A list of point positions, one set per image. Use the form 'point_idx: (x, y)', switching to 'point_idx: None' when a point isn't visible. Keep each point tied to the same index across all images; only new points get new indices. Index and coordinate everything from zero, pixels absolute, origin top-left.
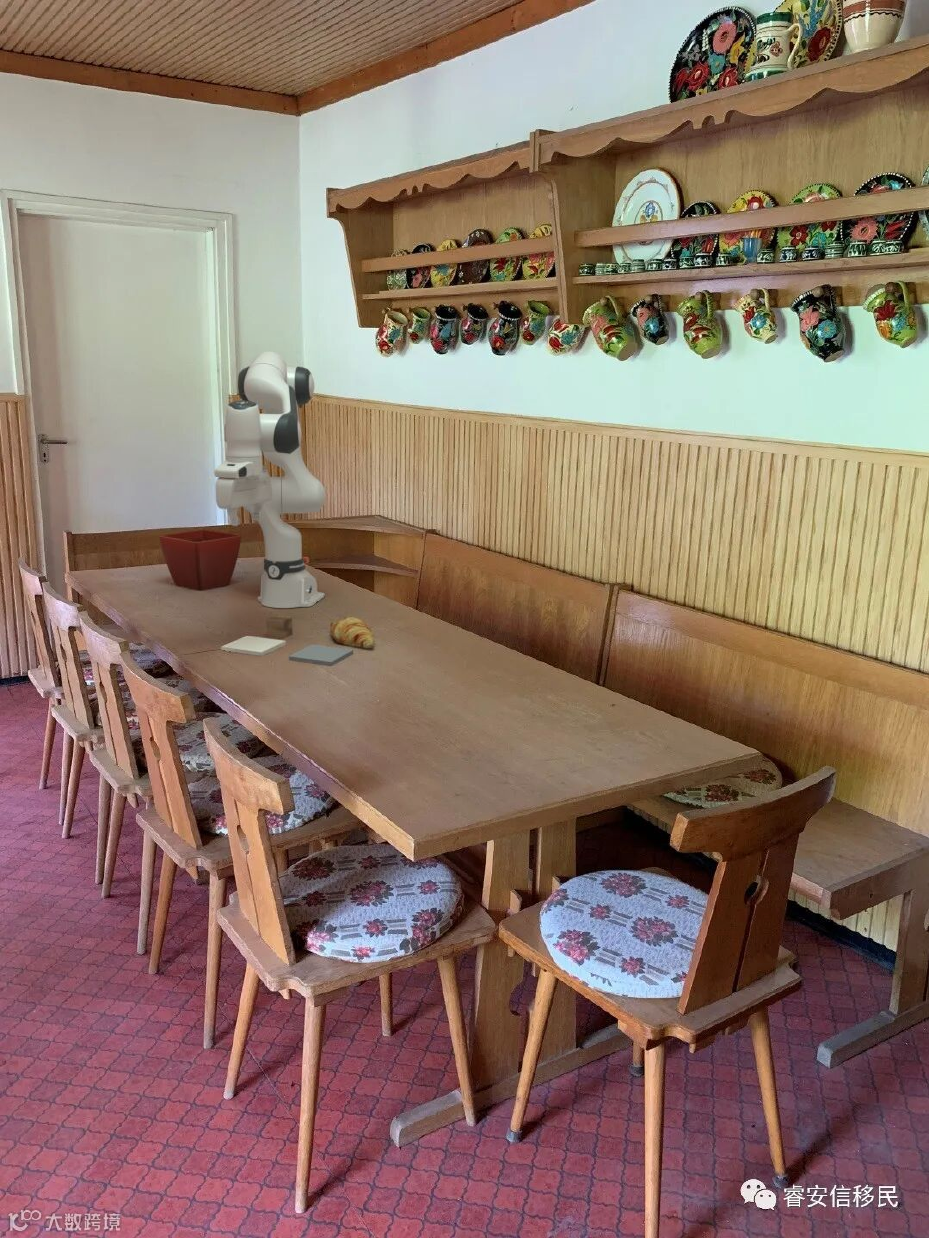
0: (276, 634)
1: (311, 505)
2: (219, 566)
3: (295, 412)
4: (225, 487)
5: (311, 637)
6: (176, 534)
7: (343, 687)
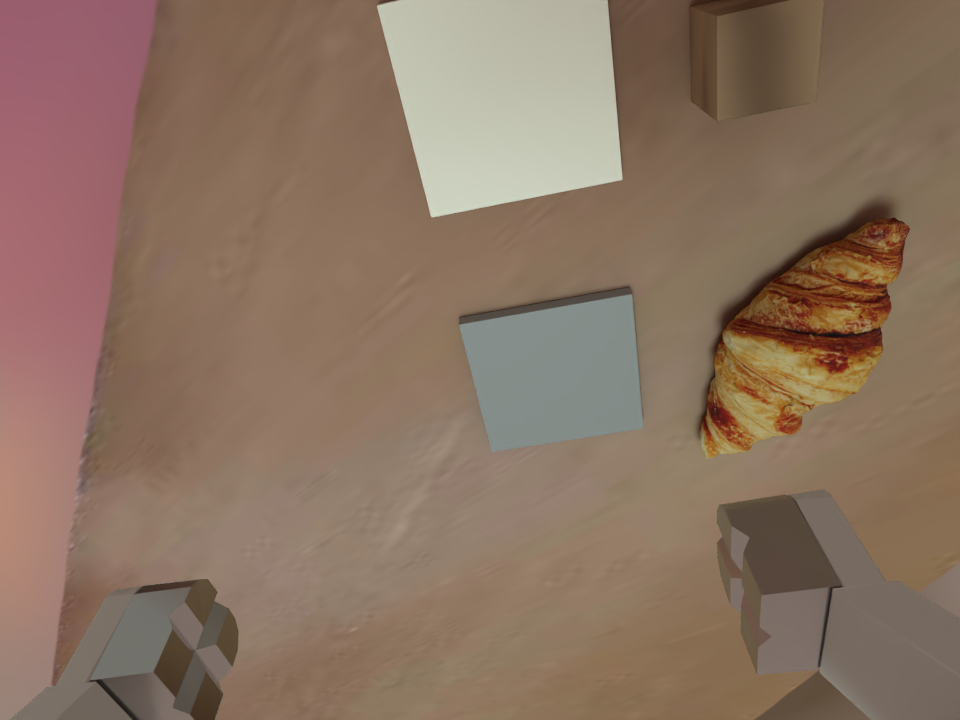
0: (695, 68)
1: None
2: None
3: None
4: None
5: (768, 186)
6: None
7: (367, 550)
